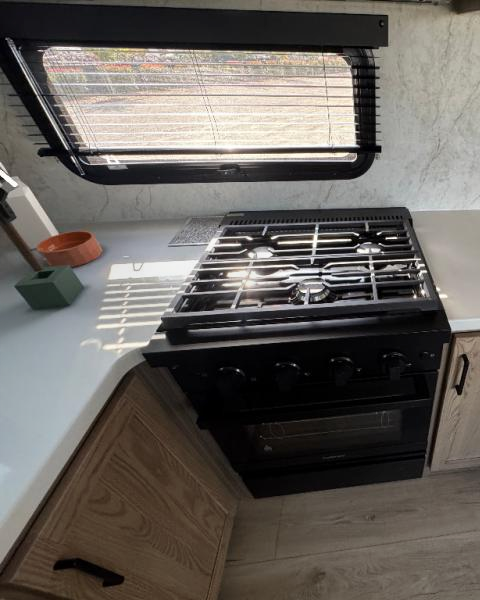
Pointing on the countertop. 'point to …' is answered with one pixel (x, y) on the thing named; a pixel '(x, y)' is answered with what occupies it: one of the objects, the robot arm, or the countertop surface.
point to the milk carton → (29, 215)
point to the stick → (21, 246)
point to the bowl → (70, 248)
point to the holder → (50, 287)
